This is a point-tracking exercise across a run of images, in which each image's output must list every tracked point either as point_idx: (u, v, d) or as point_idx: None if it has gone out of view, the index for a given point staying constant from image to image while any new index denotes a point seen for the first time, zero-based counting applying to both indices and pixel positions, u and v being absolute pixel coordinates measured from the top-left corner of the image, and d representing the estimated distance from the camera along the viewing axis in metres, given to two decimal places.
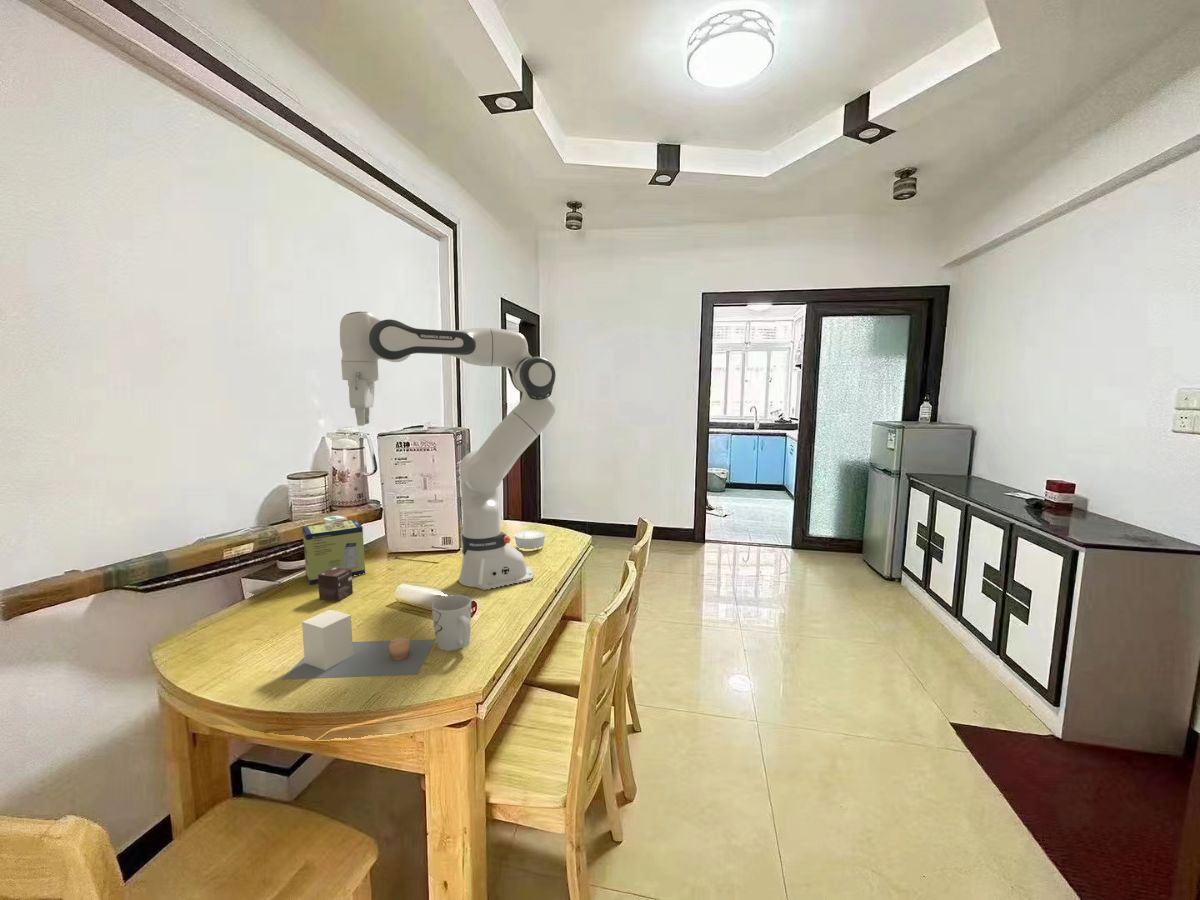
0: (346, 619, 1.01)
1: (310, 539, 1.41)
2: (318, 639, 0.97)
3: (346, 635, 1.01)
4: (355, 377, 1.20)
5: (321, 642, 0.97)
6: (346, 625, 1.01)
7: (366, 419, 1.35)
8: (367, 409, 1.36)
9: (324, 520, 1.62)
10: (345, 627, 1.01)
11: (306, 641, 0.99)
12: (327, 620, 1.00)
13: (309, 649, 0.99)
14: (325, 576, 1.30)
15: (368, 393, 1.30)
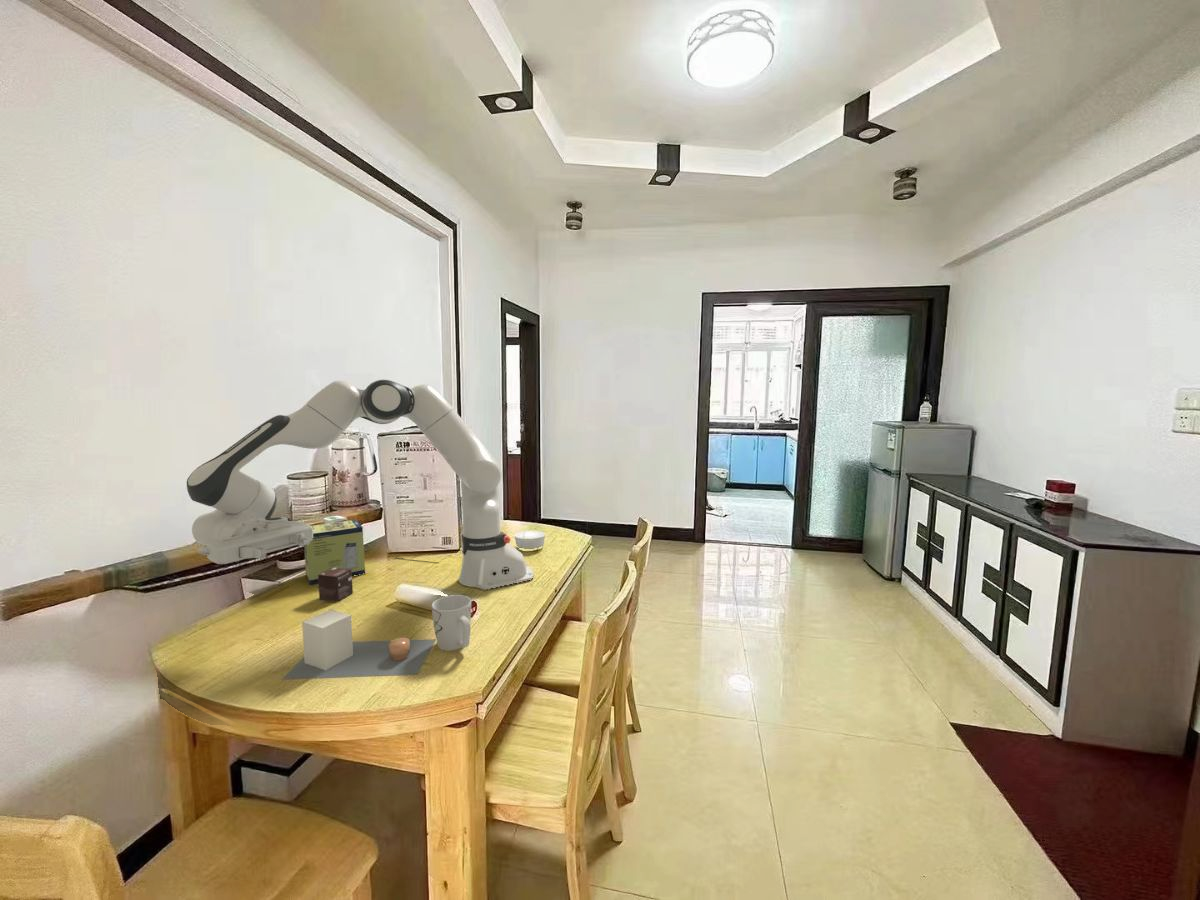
0: (346, 619, 1.01)
1: None
2: (318, 639, 0.97)
3: (346, 635, 1.01)
4: (198, 551, 1.00)
5: (321, 642, 0.97)
6: (346, 625, 1.01)
7: (299, 540, 1.08)
8: (296, 536, 1.10)
9: (324, 520, 1.62)
10: (345, 627, 1.01)
11: (306, 641, 0.99)
12: (327, 620, 1.00)
13: (309, 649, 0.99)
14: (326, 576, 1.30)
15: (256, 534, 1.07)
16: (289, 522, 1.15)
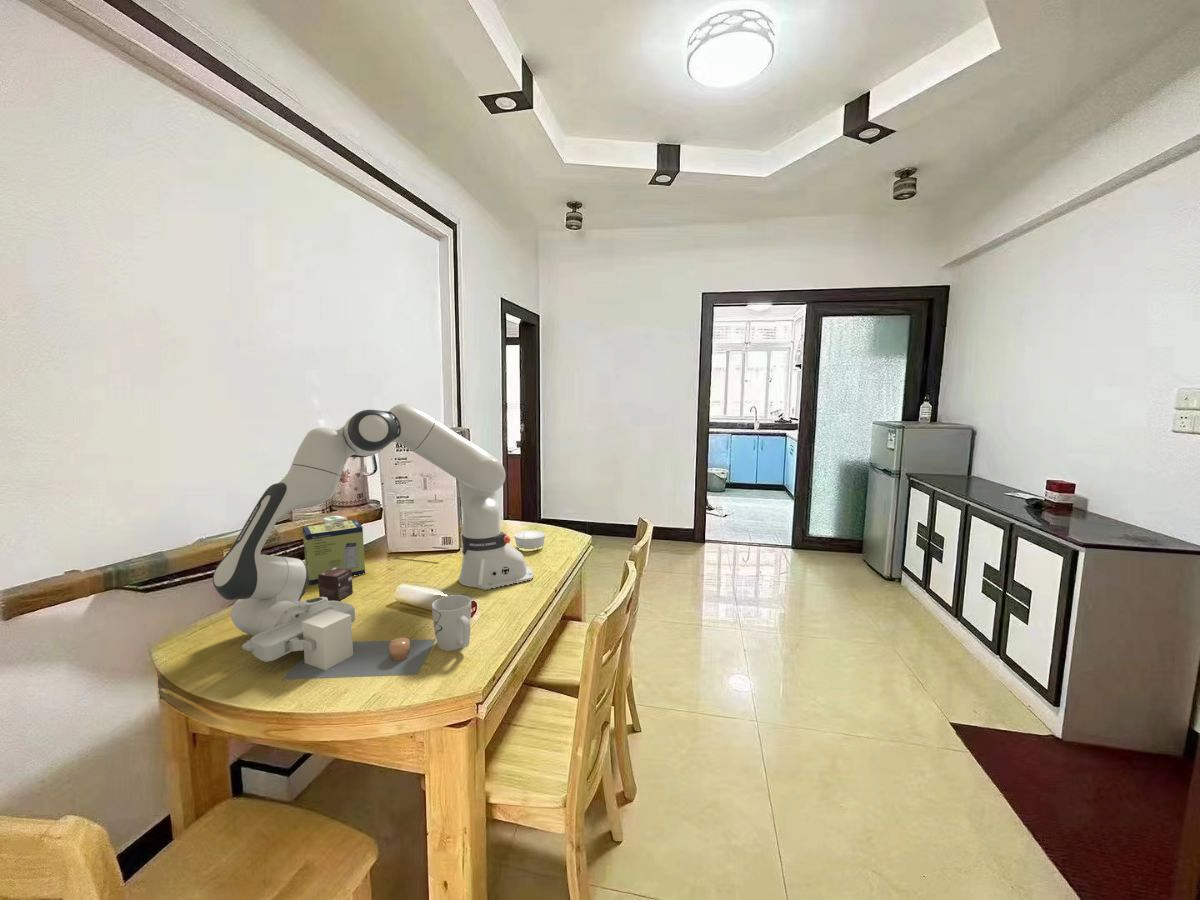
0: (347, 619, 1.01)
1: (310, 539, 1.41)
2: (318, 639, 0.97)
3: (346, 635, 1.01)
4: (242, 647, 0.96)
5: (321, 642, 0.97)
6: (346, 625, 1.01)
7: None
8: None
9: (324, 520, 1.62)
10: (345, 627, 1.01)
11: None
12: (327, 620, 1.00)
13: None
14: (326, 576, 1.30)
15: (300, 622, 1.03)
16: (330, 602, 1.12)
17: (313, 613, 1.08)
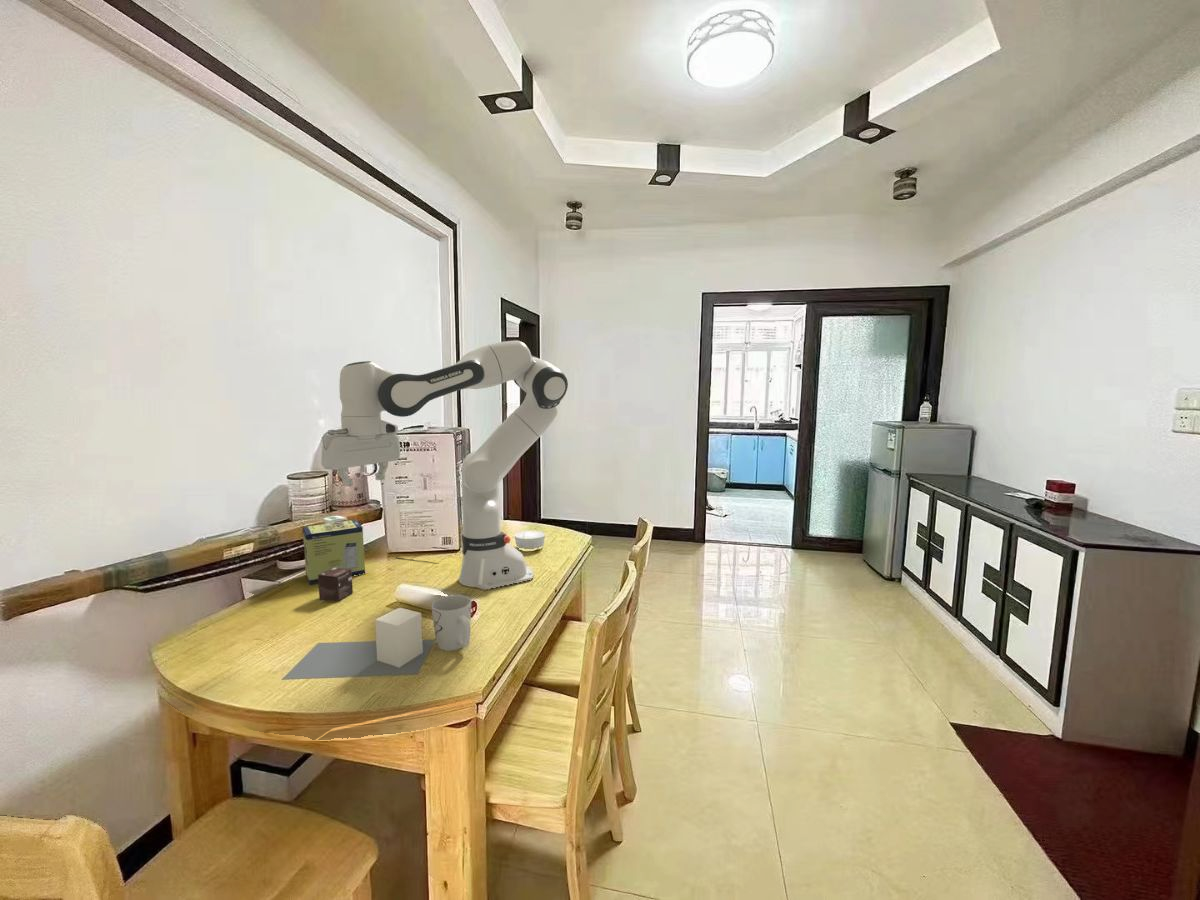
0: (417, 617, 1.02)
1: (310, 539, 1.41)
2: (392, 637, 0.98)
3: (417, 633, 1.02)
4: (323, 436, 1.10)
5: (396, 639, 0.98)
6: (417, 623, 1.02)
7: (378, 475, 1.24)
8: (382, 464, 1.24)
9: (324, 520, 1.62)
10: (416, 625, 1.02)
11: (379, 639, 1.00)
12: (399, 618, 1.01)
13: (382, 647, 1.00)
14: (326, 576, 1.30)
15: (364, 449, 1.18)
16: (394, 438, 1.25)
17: (378, 441, 1.21)
